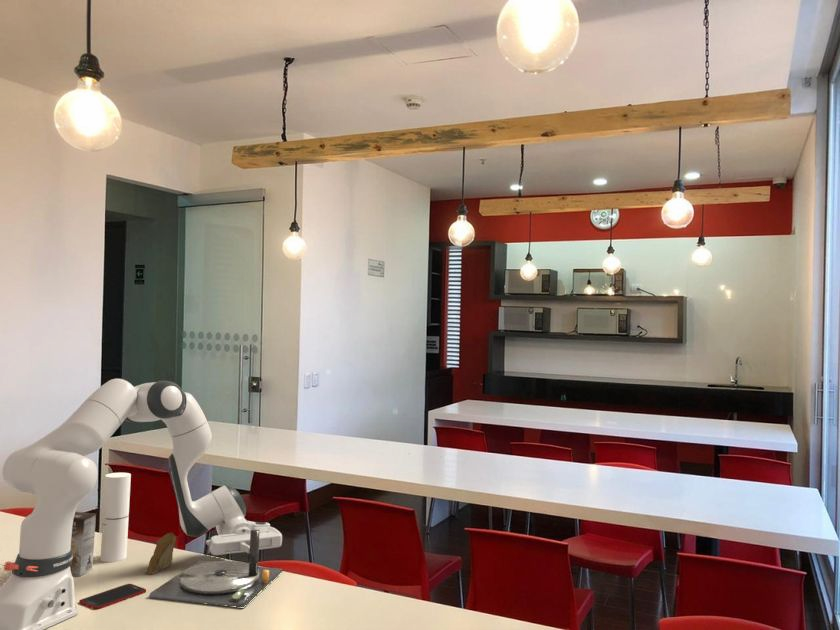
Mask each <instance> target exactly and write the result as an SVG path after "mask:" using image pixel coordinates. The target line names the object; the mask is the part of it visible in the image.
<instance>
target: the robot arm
mask: <svg viewBox="0 0 840 630" xmlns="http://www.w3.org/2000/svg"><path fill="white" fill-rule="evenodd" d="M124 421H126V422H129V423H133V424H138V423H147V422H149V423H151V422H156V421H162V422H163V423H164V424H165V426H166V427H167V430H168V433H169V436H170V437H171V440H172V453H171V454H170V455H169V456H168V468H169V472H170V478H171V483H172V486H173V491H174V495H175V500H176V504H177V508H178V516H179V519H178V520H179V525H180V526H181V529H182V531H183V532H184V533H185V534H186V536H189V537H194V538H200V537H202V536H203V535H204V534H205V533H207V532H209V531H210V530H211V529H212V528H215V529H216V531H217V534H218V535H213V536H211V537H210V538H209V539H207V540H205V544H206V545H207V546H208V547H210V550H209V551H210V553H211V555H213V556H223V555H228V554H236V553H237V554H241V553H247V554H249V555H250V534H251V530H259V531H260V532H259V551H260V550H265V549H266V550H267V549H275V548H280V547H281V546H282V543H283V534H282V532H280V531H279V530H278V529H277V528H275V527H273V526H271V524H270V523H269V522H261V521H250V520H247V519H246V518H245V517H246V514H247V507H246V503H245V500H244V499H243V496H242V495H241V494H240V492H239V491H238V490H237V489H236V488H235V487H233V486H231V485H225V484H224V485H222V486H220V487H218V488H217V489H214V490H212V491H211V492H209V493H208V494H206V495H204V496H202V497H200V498H198V499H196V500H192V496H191V491H190V487H189V483H188V474H189V472H190V470H191V469H192V467H193V466H194V465H195V464H196V462H198V460H200V459H201V458H202V456H204V454H205V453H206V452H207V450H208V449H209V447H210V445H211V442H212V439H213V433H212V430H211V427H210V425H209V421H208V420H207V418H206V415H205V412H203V410H202V408H201V406H200V404H199V403H198V401H197V400H196V398H195V397H194V396H193V395H192V394H191V393H190V392H187V391H185V392H184V391H183V388H181V386H180V385H179V384H177V383H176V382H174V381H169V380H158V381H155V382H154V381H153V382H145V383H141V384H139V385H136V386H134V385H132V383H131V382H129V381H128V380H126V379H123V378H113V379H110V380H108V381H107V382H105V383H103V384H102V385H101V386H99V387H98V388H97V389H96V390H95V391H94V392H92V393H91V394H90V395H89V396H88V397H87V398H86V399H85V401H84V402H83V403H81V405H80V406H78V408H77V409H76V410H75V411H74V412H73V413H72V414H71V415H70V416H69V417H68V418H67V419H66V420H65V421H64V422H63V423H62V424H60V425H59V426H57V427H56V428H55V429H54V430H52V431H51V432H49V433H47V434H45V436H43V437H42V438H40V439H38V440H37V441H35V442H34V443H33V442H32V443H31V444H30V445H28V446H25V447H22V448H20V449H17V450H15V451H13V452H12V453H10V454H9V455H8V457H7V458H6V459H5V461H4V463H3V466H2V472H1V474H2V478H3V480H4V481H5V483H6V484H7V485H9V486H11V487H12V488H14V489H16V490H17V491H20V492H23V493H26V494H27V493H28V494H33V495H36V502H35V505H34V508H33V511H32V512H31V513H29V514H28V515H27V516H26V517H25V518H24V519H22V522H21V524H20V532H19V551H18V554H17V556H16V557H15V560H14V561H13V562H12V561H6V562H5V563H4V564H3V571H6V572H8V571H9V572H11V575H10V576H9V577H8V578H7V579H6V581H5V582H4V583H3V584H2V585H1V587H0V630H46V629H47V628H50V627H52V626H54V625H57V624H58V623H59V624H60V623H61V622H63V621H66V620H68V619H70V618H72V617H75V616H77V615H78V614H79V612H78V611H79V610H78V608H77V607H76V605H75V604H76V602H75V600H76V599H75V586H74V585H75V584H74V583H75V582H74V576H72V574H71V570H70V566H71V564H72V558H73V555H72V549H71V537H72V526H73V519H74V515H75V512H77V510H78V507H79V505H80V503H81V501H82V500H83V499H84V497H85V496H87V495H88V494H90V492H91V491H92V490H93V489H94V487H95V485H96V483H97V481H98V473H99V471H98V467H97V464H96V463H95V462H94V460H92V459H90V458H88V457H86V456H88V455H90V454H93V453H95V452H97V451H99V450H100V449H101V448H103V446H105V445H106V443H107V442H108V440H109V439H110V438H111V437H112V436H113V435H114V433H115V432H116V431H117V430H118V429H119V428H120V426H121V425H122V424H123V422H124Z"/></svg>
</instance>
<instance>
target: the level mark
mask: <svg viewBox="0 0 840 630" xmlns="http://www.w3.org/2000/svg"><path fill="white" fill-rule="evenodd" d="M268 582H269V570H263V571H262V583H268Z"/></svg>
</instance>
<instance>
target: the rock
mask: <svg viewBox="0 0 840 630" xmlns="http://www.w3.org/2000/svg"><path fill="white" fill-rule="evenodd" d="M176 539H177V537H176V534H175V533H173V532H169V533H166V534H164V535H163V536H161V537H160V538H159V539H158V540H156V542H155V543H156V545H155V549H154V551H153V554H152V556H151V558H150V560H149V563H148V566H147V567H146V570H145V573H146V574H148V575H154V574H156V573H157V571H158V572H159V570H160V569H161V570H163V569H162V568H164V567H165V568H167V567H168V566H170V565H171V564H172V563H173V562H172V561H173V554H174V553H173V551H174V548H175V543H176ZM166 566H167V567H166ZM165 568H164V569H165ZM161 570H160V571H161Z"/></svg>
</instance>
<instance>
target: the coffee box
mask: <svg viewBox="0 0 840 630" xmlns="http://www.w3.org/2000/svg"><path fill="white" fill-rule="evenodd" d="M96 517H97V513H94V512H93V513H91V512H82V511H76V512H75V515H74V519H73V526H72V537H71V549H72V555H73V558H72V564H71V566H70V570H71V574H72V577H81V576H83V575H85V574H86V573H88V572H90V571H91V570H93V565H94V552H95V551H94V550H95V537H96V536H95V534H96V521H97V518H96Z"/></svg>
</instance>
